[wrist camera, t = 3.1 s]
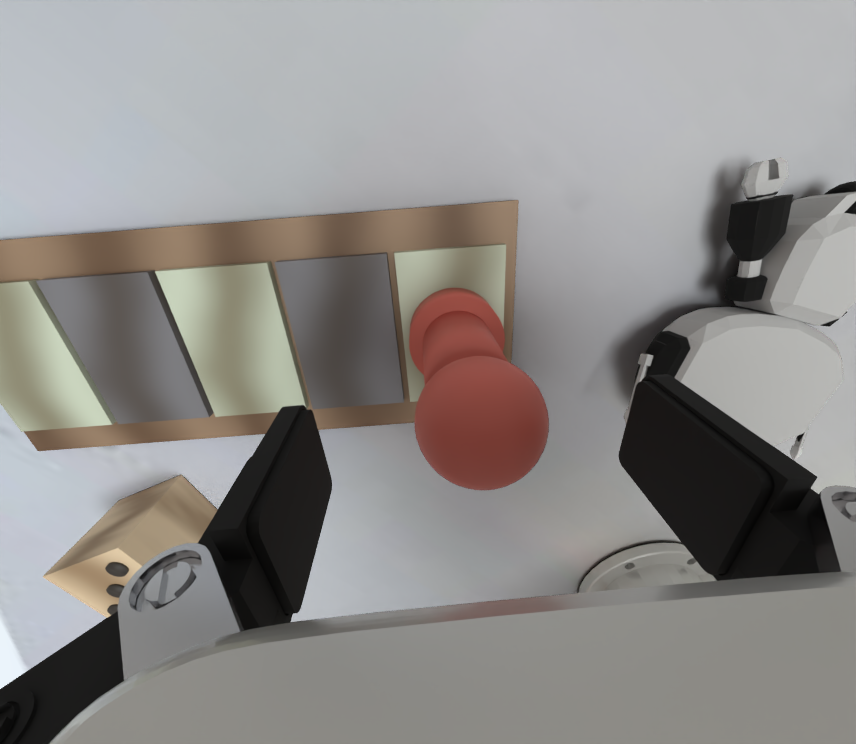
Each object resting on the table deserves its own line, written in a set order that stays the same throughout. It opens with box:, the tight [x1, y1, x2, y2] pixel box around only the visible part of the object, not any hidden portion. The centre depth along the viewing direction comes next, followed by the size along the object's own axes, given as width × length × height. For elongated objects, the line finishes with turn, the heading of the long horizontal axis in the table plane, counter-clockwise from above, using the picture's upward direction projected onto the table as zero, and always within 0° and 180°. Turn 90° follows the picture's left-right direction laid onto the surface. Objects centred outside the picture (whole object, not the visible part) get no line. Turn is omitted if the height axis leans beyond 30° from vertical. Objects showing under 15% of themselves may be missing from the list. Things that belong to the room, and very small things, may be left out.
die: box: [43, 475, 217, 618], centre depth 24 cm, size 6×6×6 cm
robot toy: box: [624, 158, 856, 460], centre depth 20 cm, size 12×4×15 cm
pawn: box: [409, 288, 549, 490], centre depth 14 cm, size 5×5×11 cm
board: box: [0, 200, 518, 451], centre depth 20 cm, size 32×13×1 cm, turn 94°
